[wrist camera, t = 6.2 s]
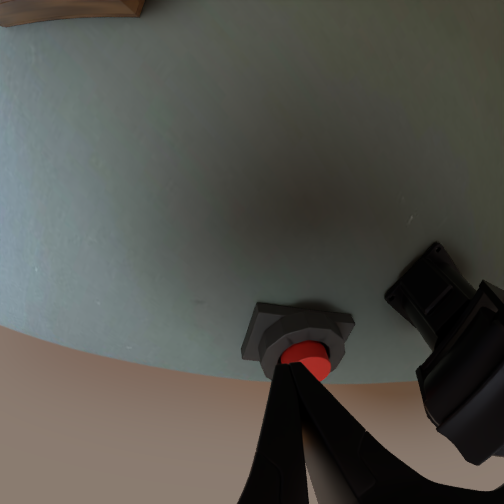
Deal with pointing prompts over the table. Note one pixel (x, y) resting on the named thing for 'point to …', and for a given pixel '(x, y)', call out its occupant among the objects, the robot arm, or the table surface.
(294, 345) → the button
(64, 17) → the wooden box
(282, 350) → the control block
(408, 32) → the table surface
